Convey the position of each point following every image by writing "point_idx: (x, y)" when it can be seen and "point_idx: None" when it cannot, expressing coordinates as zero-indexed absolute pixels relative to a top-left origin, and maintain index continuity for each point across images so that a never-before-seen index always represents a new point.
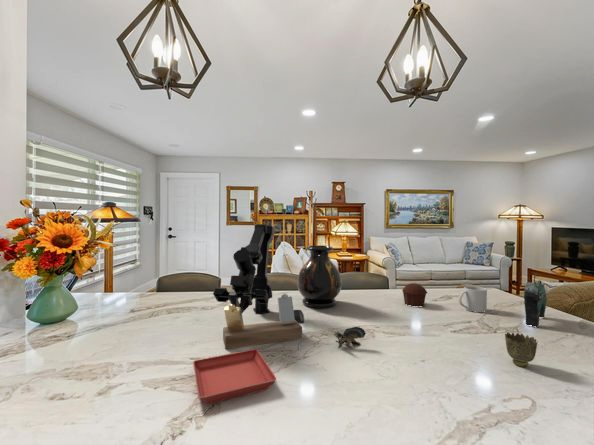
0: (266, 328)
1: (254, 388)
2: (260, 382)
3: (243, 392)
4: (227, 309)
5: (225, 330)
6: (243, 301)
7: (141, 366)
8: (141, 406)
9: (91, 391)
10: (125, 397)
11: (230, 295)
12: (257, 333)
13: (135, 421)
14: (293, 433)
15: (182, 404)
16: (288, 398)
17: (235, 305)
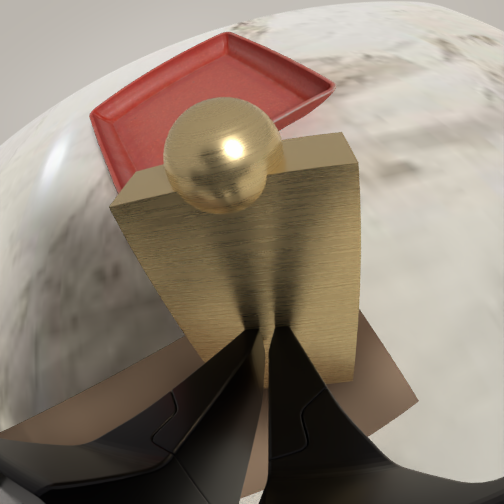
0: (104, 431)
1: (135, 92)
2: (128, 125)
3: (158, 84)
4: (294, 139)
5: (374, 353)
6: (95, 450)
7: (491, 109)
8: (340, 30)
9: (463, 45)
10: (392, 37)
11: (491, 500)
12: (139, 363)
13: (317, 18)
14: (96, 84)
15: (271, 45)
16: (87, 124)
17: (165, 157)
